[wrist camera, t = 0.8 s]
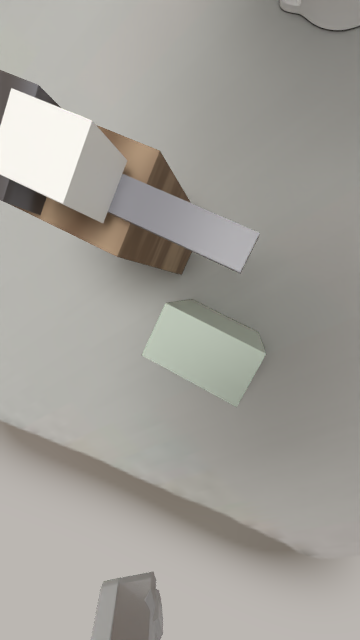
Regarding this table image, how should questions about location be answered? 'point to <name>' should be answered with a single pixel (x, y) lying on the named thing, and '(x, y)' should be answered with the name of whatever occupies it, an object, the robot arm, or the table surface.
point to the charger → (106, 181)
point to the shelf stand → (114, 230)
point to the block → (206, 349)
